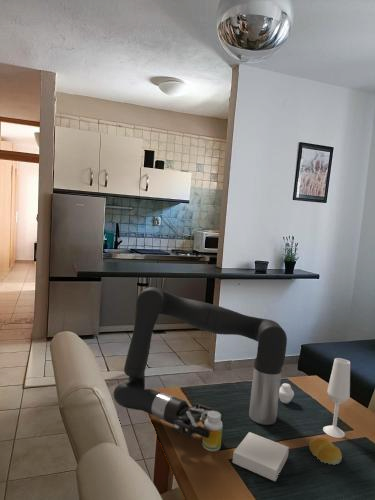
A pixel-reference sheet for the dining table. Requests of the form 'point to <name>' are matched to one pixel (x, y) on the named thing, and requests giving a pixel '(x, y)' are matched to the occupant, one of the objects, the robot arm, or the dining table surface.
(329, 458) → the bread roll
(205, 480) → the dining table surface
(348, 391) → the champagne flute
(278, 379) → the robot arm
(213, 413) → the supplement bottle
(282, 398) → the white lumpy ovoid
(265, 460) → the stack of napkins
